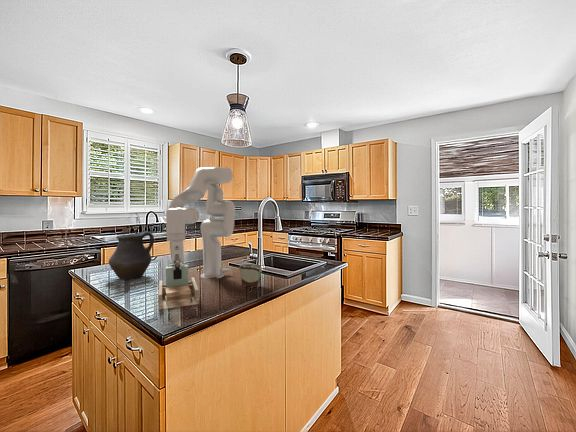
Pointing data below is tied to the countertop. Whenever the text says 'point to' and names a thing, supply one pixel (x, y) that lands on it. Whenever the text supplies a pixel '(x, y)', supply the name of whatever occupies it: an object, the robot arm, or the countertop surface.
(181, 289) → the offcut
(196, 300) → the rack
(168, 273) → the pale green slab
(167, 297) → the offcut
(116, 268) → the pitcher
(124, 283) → the countertop surface
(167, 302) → the offcut
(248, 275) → the food container
